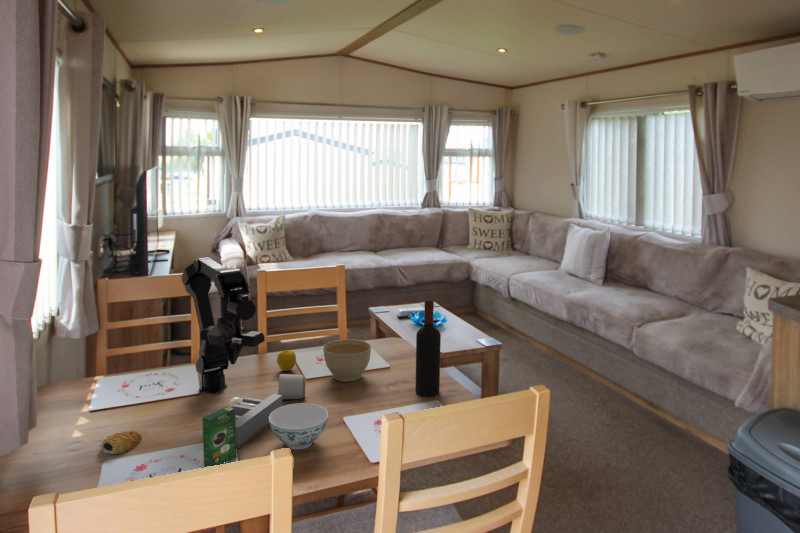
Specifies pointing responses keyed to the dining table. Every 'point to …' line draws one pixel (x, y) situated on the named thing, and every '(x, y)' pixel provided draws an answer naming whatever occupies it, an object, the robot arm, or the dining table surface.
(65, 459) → the dining table surface
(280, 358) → the apple
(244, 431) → the mount
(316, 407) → the chinaware
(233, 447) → the coffee box
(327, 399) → the dining table surface
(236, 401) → the knob
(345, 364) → the planter bowl
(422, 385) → the wine bottle
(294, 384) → the ceramic mug
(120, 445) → the pastry
